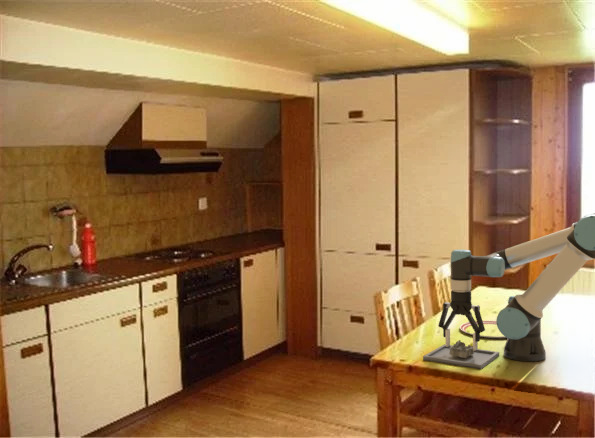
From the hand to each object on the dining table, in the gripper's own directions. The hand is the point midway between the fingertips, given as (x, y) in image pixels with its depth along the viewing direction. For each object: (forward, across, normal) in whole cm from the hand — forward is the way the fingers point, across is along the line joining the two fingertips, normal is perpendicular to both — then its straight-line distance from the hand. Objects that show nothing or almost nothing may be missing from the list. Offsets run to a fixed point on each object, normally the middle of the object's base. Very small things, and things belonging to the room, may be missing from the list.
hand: (461, 347), depth 238 cm
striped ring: (+4, +2, -42) cm, 43 cm away
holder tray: (+4, 0, 0) cm, 4 cm away
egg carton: (+4, +2, 0) cm, 5 cm away
